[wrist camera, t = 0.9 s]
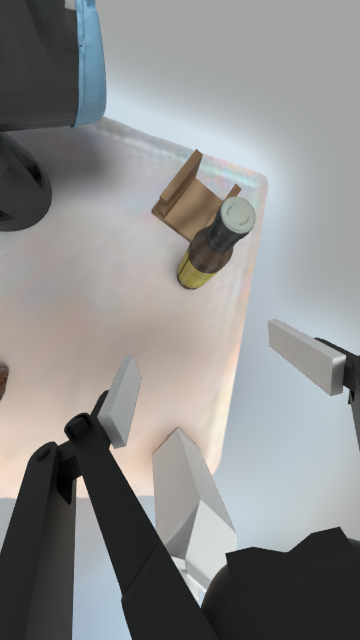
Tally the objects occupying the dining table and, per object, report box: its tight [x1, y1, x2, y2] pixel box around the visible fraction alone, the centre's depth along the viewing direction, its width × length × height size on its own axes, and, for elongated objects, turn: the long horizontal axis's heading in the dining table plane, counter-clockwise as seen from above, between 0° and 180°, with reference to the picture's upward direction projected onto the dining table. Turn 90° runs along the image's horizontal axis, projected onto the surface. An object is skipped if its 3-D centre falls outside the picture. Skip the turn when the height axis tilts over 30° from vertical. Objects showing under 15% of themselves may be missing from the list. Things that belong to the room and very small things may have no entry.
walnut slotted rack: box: [152, 149, 241, 243], centre depth 34 cm, size 14×12×6 cm
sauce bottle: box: [177, 196, 256, 289], centre depth 27 cm, size 6×6×20 cm
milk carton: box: [152, 428, 238, 601], centre depth 25 cm, size 7×7×19 cm
